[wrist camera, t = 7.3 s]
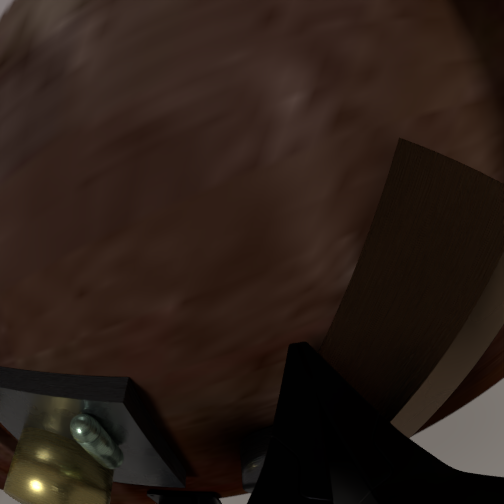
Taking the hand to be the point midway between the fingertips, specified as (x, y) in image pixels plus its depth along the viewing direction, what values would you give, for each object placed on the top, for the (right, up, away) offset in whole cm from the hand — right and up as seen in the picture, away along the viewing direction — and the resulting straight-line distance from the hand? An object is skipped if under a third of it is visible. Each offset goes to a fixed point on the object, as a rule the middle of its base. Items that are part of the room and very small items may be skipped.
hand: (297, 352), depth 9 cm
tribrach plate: (-13, -9, +7) cm, 17 cm away
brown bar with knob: (+2, -2, +4) cm, 5 cm away
